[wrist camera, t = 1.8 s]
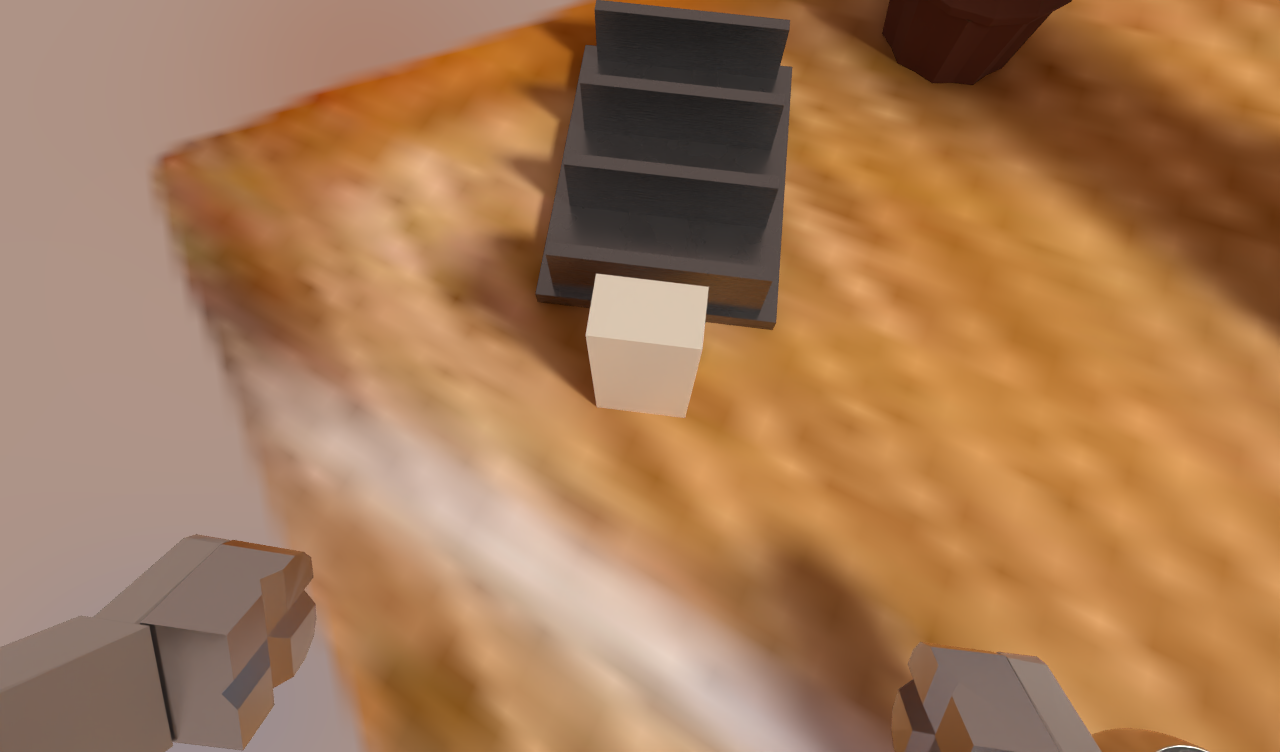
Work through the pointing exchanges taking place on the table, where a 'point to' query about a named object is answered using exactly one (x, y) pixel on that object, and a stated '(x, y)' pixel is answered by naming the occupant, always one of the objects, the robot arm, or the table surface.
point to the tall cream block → (645, 343)
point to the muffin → (961, 35)
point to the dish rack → (675, 160)
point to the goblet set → (1141, 741)
